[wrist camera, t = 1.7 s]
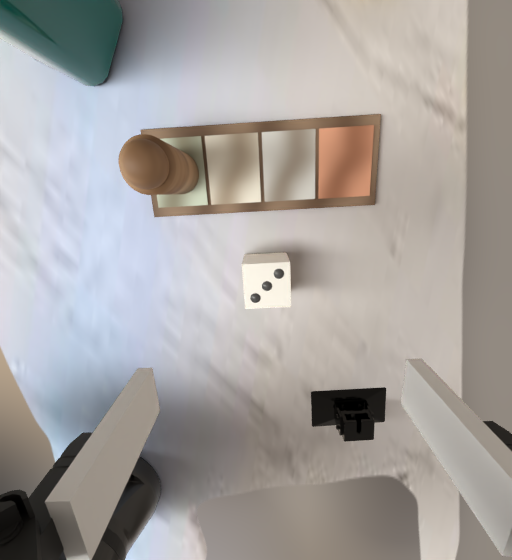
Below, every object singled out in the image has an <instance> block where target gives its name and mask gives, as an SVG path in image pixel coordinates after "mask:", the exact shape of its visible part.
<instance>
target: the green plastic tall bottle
mask: <svg viewBox="0 0 512 560" xmlns="http://www.w3.org/2000/svg"><path fill="white" fill-rule="evenodd" d="M122 22H123V17H122V8H121V6H120V3H119V1H118V0H0V39H2V40H3V41H5V42H7V43H8V44H10V45H12V46H14V47H15V48H17V49H19V50H20V51H22V52H24V53H25V54H27V55H29V56H30V57H32V58H34V59H35V60H37V61H39V62H41V63H43V64H45V65H47V66H49V67H51V68H53V69H55V70H57V71H59V72H61V73H63V74H64V75H66V76H68V77H70V78H72V79H74V80H76V81H78V82H80V83H82V84H84V85H86V86H96V85H98V84H101V83H103V82H104V80H105V79H106V78H107V77H108V74H109V70H110V66H111V63H112V59H113V55H114V52H115V48H116V44H117V41H118V37H119V33H120V30H121V26H122Z"/></svg>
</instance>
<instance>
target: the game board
mask: <svg viewBox="0 0 512 560" xmlns="http://www.w3.org/2000/svg"><path fill="white" fill-rule="evenodd" d="M380 120H381V114H375V115H360V116H345V117H329V118H314V119H299V120H283V121H268V122H253V123H237V124H222V125H207V126H192V127H176V128H161V129H146V130H141V134H147V135H152V136H155V137H157V138H159V139H161V140H162V141H164V142H166V143H168V144H170V145H172V146H173V147H175V148H177V149H179V150H181V151H183V152H185V153H186V154H188V155H190V156H191V157H192V158H193V159H194V161H195V162H196V164H197V166H198V170H199V179H198V183H197V185H196V186H195V188H194V189H193V190H192V191H190V192H189V193H186V194H171V195H151V198H152V204H153V210H154V217H163V216H181V215H199V214H217V213H235V212H253V211H271V210H289V209H307V208H325V207H343V206H361V205H375V193H376V178H377V163H378V149H379V134H380Z"/></svg>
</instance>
